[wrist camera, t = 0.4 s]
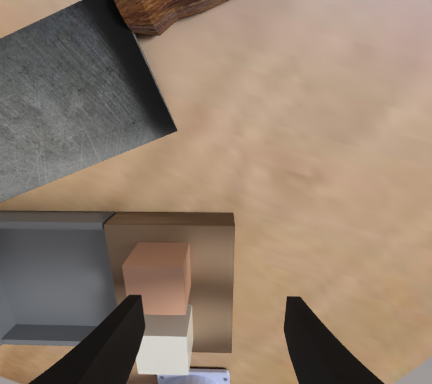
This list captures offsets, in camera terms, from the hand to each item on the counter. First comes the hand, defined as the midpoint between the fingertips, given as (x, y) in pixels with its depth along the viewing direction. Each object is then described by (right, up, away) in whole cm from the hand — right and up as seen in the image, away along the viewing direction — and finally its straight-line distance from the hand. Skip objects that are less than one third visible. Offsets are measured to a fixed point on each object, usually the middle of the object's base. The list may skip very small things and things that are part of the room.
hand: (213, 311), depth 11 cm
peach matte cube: (-4, 0, +7) cm, 8 cm away
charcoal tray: (-15, -2, +11) cm, 18 cm away
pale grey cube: (-4, -6, +9) cm, 11 cm away
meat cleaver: (-6, +14, +6) cm, 16 cm away
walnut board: (-3, -2, +10) cm, 11 cm away
